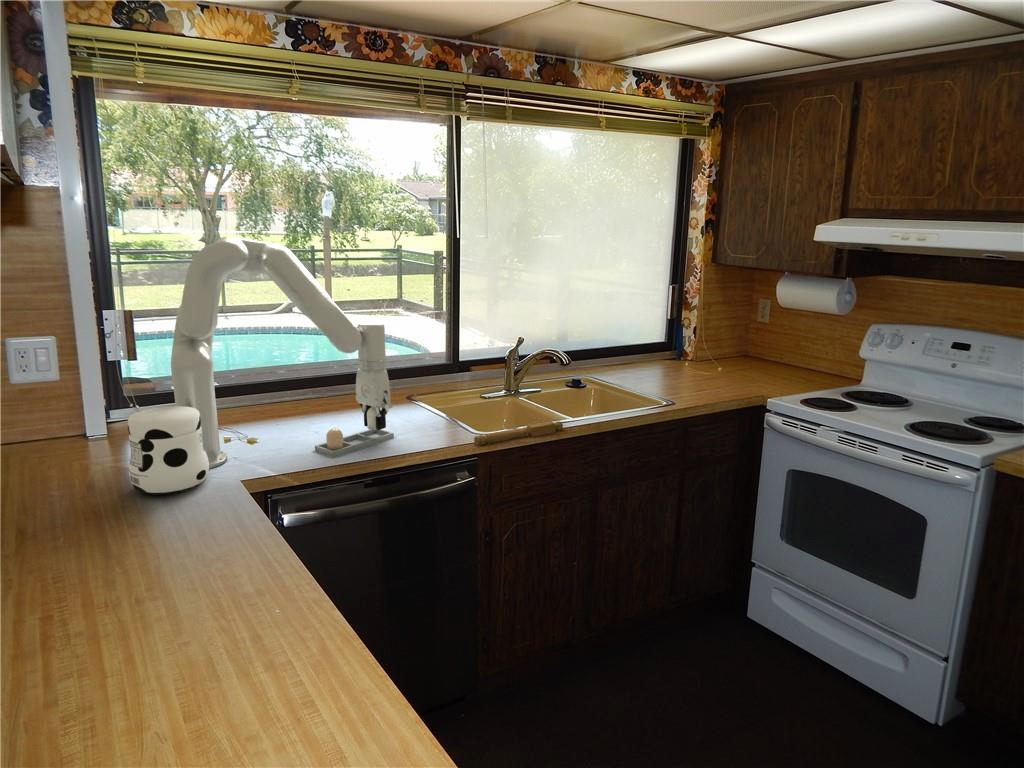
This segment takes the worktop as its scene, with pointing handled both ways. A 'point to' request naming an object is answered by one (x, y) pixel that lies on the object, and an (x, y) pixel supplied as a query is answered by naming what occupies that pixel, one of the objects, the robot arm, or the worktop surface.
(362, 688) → the worktop surface
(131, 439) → the milk container
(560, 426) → the brown long rod
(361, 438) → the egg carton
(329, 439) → the brown egg
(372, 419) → the white egg
